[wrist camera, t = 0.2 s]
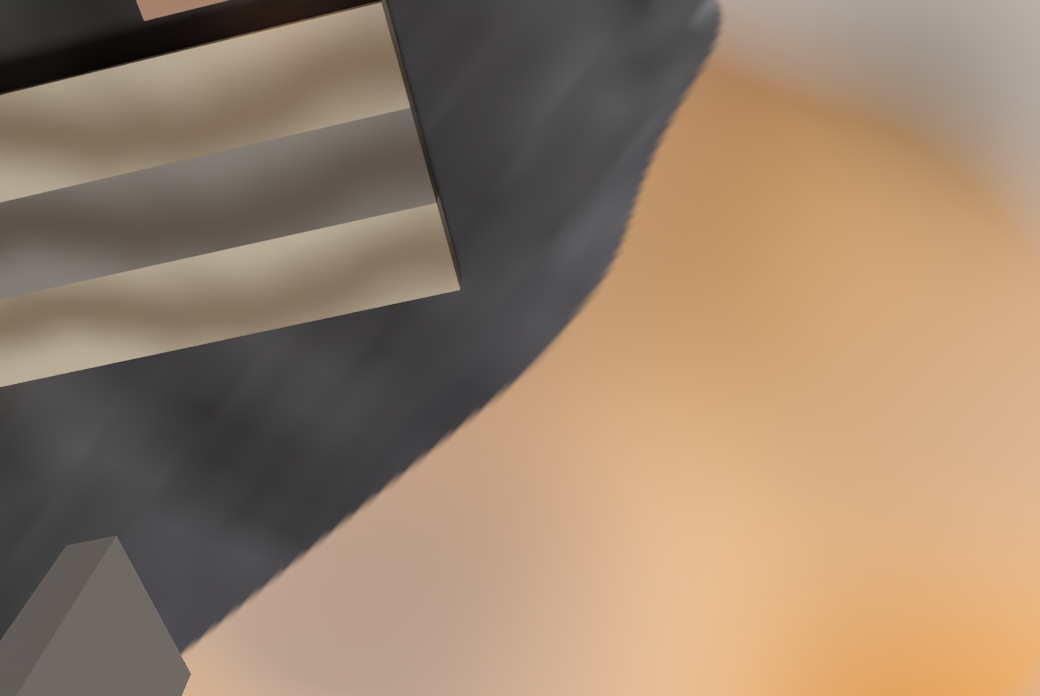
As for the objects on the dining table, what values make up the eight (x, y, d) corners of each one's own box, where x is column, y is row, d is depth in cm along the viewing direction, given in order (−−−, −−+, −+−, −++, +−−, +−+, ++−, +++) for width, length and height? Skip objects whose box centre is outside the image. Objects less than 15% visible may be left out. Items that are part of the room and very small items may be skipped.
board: (-130, 124, 37) (-150, 131, 36) (385, -1, 35) (381, 2, 34) (7, 375, 42) (-7, 388, 41) (461, 279, 40) (460, 289, 39)
